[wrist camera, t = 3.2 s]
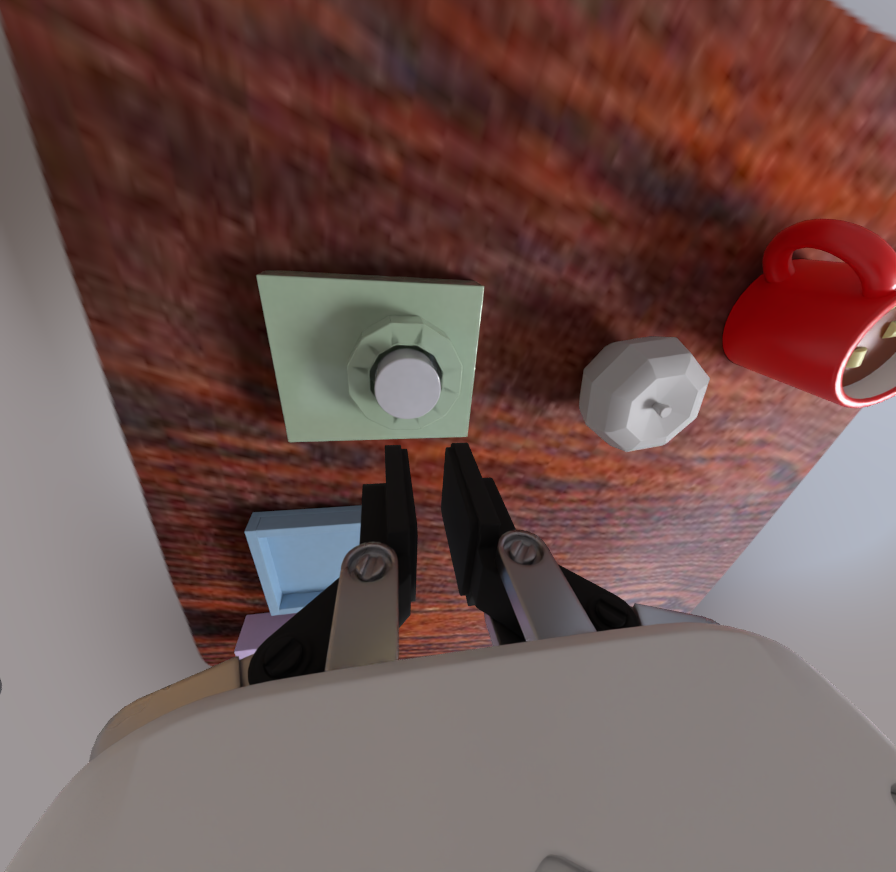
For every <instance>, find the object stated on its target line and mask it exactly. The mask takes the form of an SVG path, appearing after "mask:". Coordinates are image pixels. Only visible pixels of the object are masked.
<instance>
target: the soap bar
mask: <svg viewBox="0 0 896 872" xmlns="http://www.w3.org/2000/svg"><path fill="white" fill-rule="evenodd" d="M295 614H297V613H292V614H283V615H275V616H271V613H270V612H269V613H261V614H252V615H246V618H245V621H244V624H243V627H242V630H241V633H240V636H239V639H238V642H237V645H236V648H235V651H234V653H235V655H236V656H239V658H240V659H243V658H245V657H247V656H250V655H252V654H254V653H255V651H256V650H257V648H258V647H259V646H260V645H261V644H262V643H263V642H264V641H265V640H266V639H267V638H268V637H269V636H271V635H272V634H273V633H274V632H275V631H277V630H278V629H279V628H280V627H281V626H282V625H284V624H285V623H286V622H287V621H288V620H289V619H291V618H292V617H293V616H294V615H295Z"/></svg>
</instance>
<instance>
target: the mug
mask: <svg viewBox="0 0 896 872" xmlns="http://www.w3.org/2000/svg"><path fill="white" fill-rule="evenodd" d="M800 248H814V249H819V250H822V251H826V252H828V253H830V254H833V255H834V256H836V257H838V258H840V259H841V260H843V261H844V262H845V263H843V262H831V261H820V260H808V259H795V260H792V255H793V252H794V251H795V250H796V249H800ZM763 272H764V273H763V274H762V275H760V276H759V277H758V278H757V279H756V280H755V281H754V282H753V283H752V284H750V285H749V287H748V288H747V289H746V290H745V291H744V292H743V293H742V295H741V296H740V297H739V299H738V300H737V302H736V303H735V305H734V306H733V308H732V310H731V312H730V314H729V316H728V318H727V321H726V324H725V327H724V332H723V349H724V353H725V354H726V356H727V358H728V359H729V360H730V361H732V362H733V363H735V364H737V365H740V366H742V367H745V368H747V369H750V370H752V371H755V372H757V373H760V374H762V375H765V376H768V377H770V378H773V379H775V380H778V381H780V382H783V383H785V384H788V385H790V386H793V387H795V388H798V389H800V390H803V391H806V392H808V393H811V394H813V395H816V396H818V397H821V398H823V399H826V400H828V401H831V402H833V403H836V404H838V405H841V406H844V407H847V408H861V407H868V406H871V405H874V404H877V403H880V402H883V401H885V400H887V399H889V398H891V397H893V396H895V395H896V252H895V251H894V250H893V248H892V247H891V246H890V245H889V244H888V243H887V242H886V241H885V240H884V239H882V238H881V237H880V236H878V235H877V234H875V233H874V232H872V231H870V230H868V229H866V228H864V227H862V226H860V225H857V224H854V223H850V222H846V221H842V220H835V219H811V220H806V221H802V222H799V223H796V224H794V225H792V226H790V227H788V228H786V229H784V230H782V231H781V232H779V233H778V234H777V235H776V236H775V237H774V238H773V239H772V241H771V242H770V243H769V244H768V246H767V247H766V249H765V251H764V255H763Z"/></svg>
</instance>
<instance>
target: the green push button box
mask: <svg viewBox="0 0 896 872" xmlns="http://www.w3.org/2000/svg"><path fill="white" fill-rule="evenodd" d="M256 278H257V283H258V288H259V293H260V299H261V304H262V309H263V314H264V319H265V324H266V329H267V335H268V340H269V345H270V350H271V355H272V360H273V365H274V370H275V376H276V381H277V386H278V391H279V396H280V401H281V406H282V411H283V417H284V422H285V427H286V432H287V437H288V442H311V441H344V440H376V439H408V438H441V437H467V435H468V426H469V418H470V409H471V400H472V391H473V382H474V373H475V365H476V356H477V347H478V338H479V329H480V320H481V312H482V303H483V294H484V286H482V285H481V284H479V283H477V282H476V281H468V280H449V279H430V278H411V277H392V276H373V275H354V274H335V273H317V272H298V271H279V270H267V271H264V272H262V273H260V274H258V275H256ZM403 348H408V349H414V350H417V351H420V352H422V353H423V354H425V355H426V356H427V357H428V358H429V359H430V360H431V361H432V363H433V364H434V367H435V369H436V371H437V374H438V376H439V379H440V383H441V392H440V397H439V399H438V401H437V403H436V405H435V406H434V407H433V408H432V409H431V410H430V411H429V412H428V413H426V414H425V415H423V416H421V417H418V418H414V419H401V418H397V417H394V416H392V415H390V414H388V413H387V412H385V411H384V410H383V409H382V408H381V406H380V405H379V403H378V402H377V400H376V397H375V391H374V380H375V370H376V367H377V365H378V363H379V362H380V360H381V359H382V358H383V357H384V356H385V355H387V354H388V353H390V352H392V351H394V350H397V349H403Z"/></svg>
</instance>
